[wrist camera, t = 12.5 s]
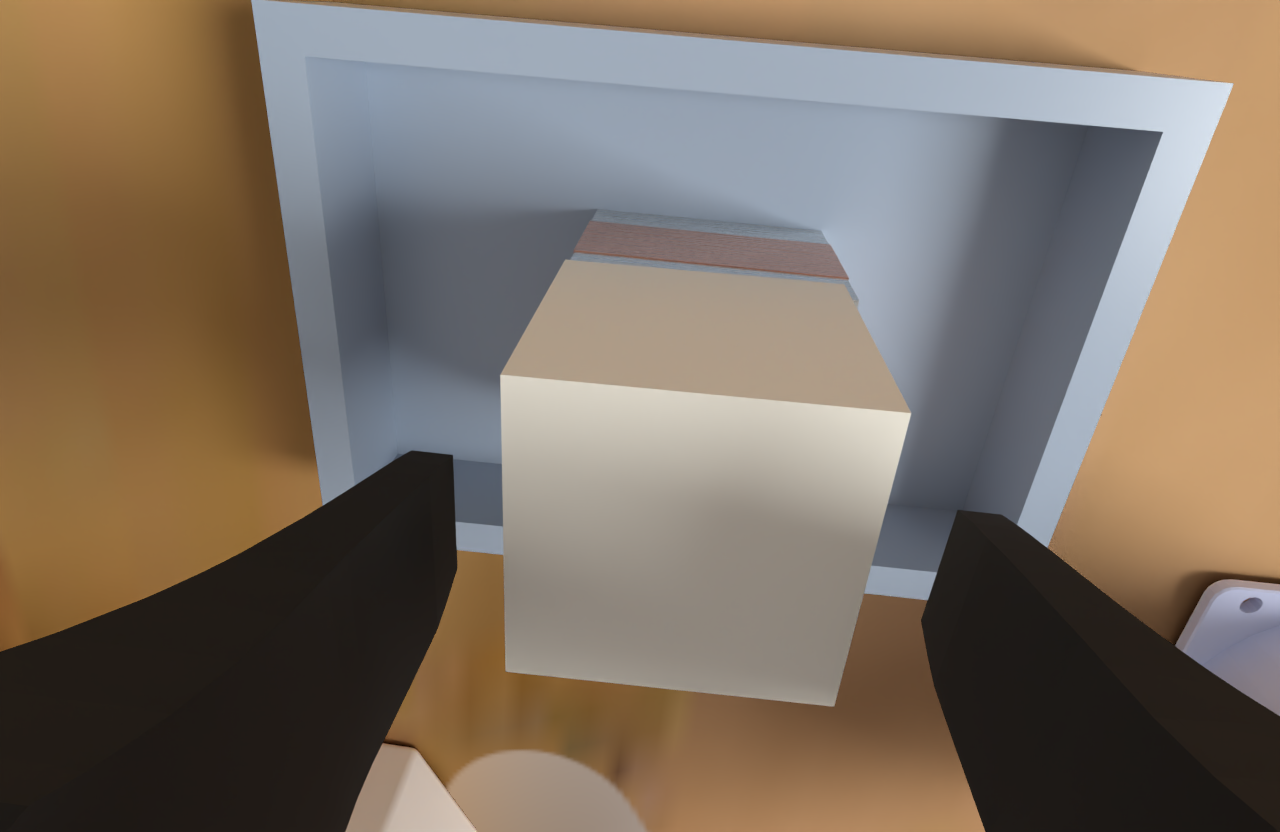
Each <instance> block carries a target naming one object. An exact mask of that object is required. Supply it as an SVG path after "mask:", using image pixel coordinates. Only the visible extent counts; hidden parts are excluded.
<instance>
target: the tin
mask: <svg viewBox="0 0 1280 832" xmlns="http://www.w3.org/2000/svg"><path fill="white" fill-rule="evenodd" d="M570 260H577V261H588V262H599V263H610V264H622V265H633V266H644V267H656V268H667V269H678V270H689V271H701V272H712V273H723V274H735V275H746V276H757V277H769V278H780V279H791V280H802V281H814V282H825V283H836V284H844V285H845V287H846V288H847V290H848V292H849V294H850V296H851V298H852V300H853V302H854V304H855V306H856V308H858V304H859V299H858V297H857V295H856V294H855V292H854V290H853V288H852V286H851V284H850V283H849V281H848V280H849V277H848V275H847V274H846V272H845V270H844V268H843V266H842V264H841V263H840V261H839V259H838V257H837V255H836V254H835V252H834V250H833V248H832V246H831V244H828V242H827V240H826V238H825V237H824V235H823V233H822V231H816V230H806V229H796V228H786V227H776V226H766V225H755V224H745V223H735V222H725V221H715V220H705V219H695V218H684V217H674V216H664V215H654V214H644V213H634V212H624V211H613V210H603V209H597V211H596V213H595V215H594V217H593V219H592V221H589V223H588V225H587V227H586V229H585V230H584V232H583V234H582V236H581V238H580V240H579V241H578V243H577V245H576V247H575V249H574V252H573V256H572V257H571V259H570Z"/></svg>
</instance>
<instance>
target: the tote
mask: <svg viewBox="0 0 1280 832" xmlns="http://www.w3.org/2000/svg"><path fill="white" fill-rule="evenodd" d="M251 2H252V9H253V16H254V23H255V30H256V37H257V44H258V51H259V58H260V65H261V72H262V79H263V86H264V94H265V101H266V108H267V115H268V122H269V129H270V136H271V143H272V150H273V157H274V164H275V171H276V178H277V185H278V192H279V199H280V206H281V214H282V221H283V228H284V235H285V242H286V249H287V256H288V263H289V270H290V277H291V284H292V291H293V298H294V305H295V312H296V319H297V326H298V334H299V341H300V348H301V355H302V362H303V369H304V376H305V383H306V390H307V397H308V404H309V411H310V418H311V425H312V432H313V439H314V446H315V454H316V461H317V468H318V475H319V482H320V489H321V496H322V503H323V505H325V504H326V503H328V502H329V501H331V500H333V499H334V498H336V497H337V496H339V495H341V494H342V493H344V492H345V491H347V490H349V489H350V488H352V487H353V486H355V485H356V484H358V483H359V482H361V481H363V480H364V479H366V478H367V477H369V476H370V475H372V474H373V473H375V472H377V471H378V470H380V469H381V468H383V467H384V466H386V465H387V464H389V463H391V462H392V461H394V460H395V459H397V458H399V457H400V456H402V455H404V454H406V453H408V452H409V451H411V450H413V451H422V452H432V453H441V454H450V455H453V468H454V494H455V520H456V546H457V550H463V551H472V552H481V553H491V554H500V555H504V554H503V498H502V441H501V385H500V374H501V373H502V371H503V369H504V367H505V365H506V364H507V362H508V360H509V358H510V357H511V355H512V353H513V351H514V349H515V348H516V346H517V344H518V342H519V341H520V339H521V337H522V335H523V334H524V332H525V330H526V328H527V326H528V325H529V323H530V321H531V319H532V318H533V316H534V314H535V312H536V310H537V309H538V307H539V305H540V303H541V302H542V300H543V298H544V296H545V294H546V293H547V291H548V289H549V287H550V286H551V284H552V282H553V280H554V278H555V277H556V275H557V273H558V271H559V270H560V268H561V266H562V264H563V262H564V261H565V260H570V259H571V257H572V256H573V252H574V249H575V247H576V245H577V243H578V241H579V240H580V238H581V236H582V234H583V232H584V230H585V229H586V227H587V225H588V223H589V221H592V219H593V217H594V215H595V213H596V211H597V209H603V210H613V211H624V212H634V213H644V214H654V215H664V216H674V217H684V218H695V219H705V220H715V221H725V222H735V223H745V224H755V225H766V226H776V227H786V228H796V229H806V230H816V231H822V233H823V235H824V237H825V238H826V240H827V242H828V244H831V246H832V248H833V250H834V252H835V254H836V255H837V257H838V259H839V261H840V263H841V264H842V266H843V268H844V270H845V272H846V274H847V275H848V277H849V280H848V281H849V283H850V284H851V286H852V288H853V290H854V292H855V294H856V295H857V297H858V299H859V304H858V308H857V310H858V312H859V313H860V315H861V317H862V319H863V321H864V323H865V325H866V327H867V329H868V331H869V333H870V335H871V337H872V338H873V340H874V342H875V344H876V346H877V348H878V350H879V352H880V354H881V356H882V358H883V360H884V361H885V363H886V365H887V367H888V369H889V371H890V373H891V375H892V377H893V379H894V381H895V383H896V385H897V386H898V388H899V390H900V392H901V394H902V396H903V398H904V400H905V402H906V404H907V406H908V408H909V410H910V411H911V417H910V420H909V424H908V428H907V432H906V436H905V439H904V443H903V447H902V451H901V455H900V458H899V462H898V466H897V470H896V474H895V477H894V481H893V485H892V489H891V493H890V496H889V500H888V504H887V508H886V512H885V515H884V519H883V523H882V527H881V531H880V534H879V538H878V542H877V546H876V550H875V553H874V557H873V561H872V565H871V569H870V572H869V576H868V580H867V584H866V588H865V591H864V593H865V594H875V595H884V596H893V597H903V598H912V599H922V600H928V598H929V595H930V592H931V589H932V586H933V583H934V580H935V577H936V574H937V571H938V568H939V565H940V562H941V559H942V556H943V553H944V550H945V547H946V544H947V541H948V538H949V535H950V532H951V529H952V526H953V523H954V520H955V516H956V513H957V510H965V511H974V512H983V513H992V514H1001V515H1003V516H1005V517H1006V518H1008V519H1009V520H1011V521H1012V522H1014V523H1015V524H1016V525H1018V526H1019V527H1021V528H1022V529H1023V530H1025V531H1026V532H1027V533H1029V534H1030V535H1031V536H1033V537H1034V538H1035V539H1036V540H1038V541H1039V542H1040V543H1042V544H1043V545H1044V546H1045V547H1047V548H1048V545H1049V543H1050V540H1051V538H1052V535H1053V533H1054V530H1055V528H1056V525H1057V523H1058V520H1059V518H1060V515H1061V513H1062V510H1063V508H1064V505H1065V503H1066V500H1067V498H1068V495H1069V493H1070V490H1071V488H1072V485H1073V483H1074V480H1075V478H1076V475H1077V473H1078V470H1079V468H1080V465H1081V463H1082V460H1083V458H1084V455H1085V453H1086V450H1087V448H1088V445H1089V443H1090V440H1091V438H1092V435H1093V433H1094V430H1095V428H1096V426H1097V423H1098V421H1099V418H1100V416H1101V413H1102V411H1103V408H1104V406H1105V403H1106V401H1107V398H1108V396H1109V393H1110V391H1111V388H1112V386H1113V383H1114V381H1115V378H1116V376H1117V373H1118V371H1119V368H1120V366H1121V363H1122V361H1123V358H1124V356H1125V353H1126V351H1127V348H1128V346H1129V343H1130V341H1131V338H1132V336H1133V333H1134V331H1135V328H1136V326H1137V323H1138V321H1139V318H1140V316H1141V313H1142V311H1143V308H1144V306H1145V303H1146V301H1147V298H1148V296H1149V293H1150V291H1151V288H1152V286H1153V283H1154V281H1155V278H1156V276H1157V273H1158V271H1159V268H1160V266H1161V264H1162V261H1163V259H1164V256H1165V254H1166V251H1167V249H1168V246H1169V244H1170V241H1171V239H1172V236H1173V234H1174V231H1175V229H1176V226H1177V224H1178V221H1179V219H1180V216H1181V214H1182V211H1183V209H1184V206H1185V204H1186V201H1187V199H1188V196H1189V194H1190V191H1191V189H1192V186H1193V184H1194V181H1195V179H1196V176H1197V174H1198V171H1199V169H1200V166H1201V164H1202V161H1203V159H1204V156H1205V154H1206V151H1207V149H1208V146H1209V144H1210V141H1211V139H1212V136H1213V134H1214V131H1215V129H1216V126H1217V124H1218V121H1219V119H1220V116H1221V114H1222V111H1223V109H1224V106H1225V104H1226V102H1227V99H1228V97H1229V94H1230V92H1231V89H1232V87H1233V83H1226V82H1218V81H1211V80H1203V79H1195V78H1188V77H1180V76H1173V75H1165V74H1157V73H1150V72H1142V71H1132V70H1120V69H1109V68H1097V67H1085V66H1074V65H1062V64H1050V63H1039V62H1027V61H1015V60H1004V59H992V58H980V57H969V56H957V55H945V54H934V53H922V52H910V51H899V50H887V49H875V48H864V47H852V46H840V45H829V44H817V43H805V42H794V41H782V40H770V39H759V38H747V37H735V36H724V35H712V34H700V33H689V32H677V31H665V30H654V29H642V28H630V27H619V26H607V25H595V24H584V23H572V22H560V21H549V20H537V19H525V18H514V17H502V16H490V15H479V14H467V13H455V12H444V11H432V10H420V9H409V8H397V7H385V6H374V5H362V4H350V3H339V2H324V1H293V0H251Z"/></svg>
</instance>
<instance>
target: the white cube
mask: <svg viewBox="0 0 1280 832" xmlns="http://www.w3.org/2000/svg"><path fill="white" fill-rule="evenodd" d="M500 385H501V441H502V498H503V554H504V610H505V666H506V672H513V673H523V674H532V675H541V676H551V677H560V678H569V679H579V680H588V681H598V682H607V683H616V684H626V685H635V686H645V687H654V688H663V689H673V690H682V691H691V692H701V693H710V694H720V695H729V696H738V697H748V698H757V699H767V700H776V701H785V702H795V703H804V704H814V705H823V706H832V707H834V705H835V702H836V698H837V694H838V690H839V686H840V683H841V679H842V675H843V671H844V667H845V664H846V660H847V656H848V652H849V648H850V645H851V641H852V637H853V633H854V629H855V626H856V622H857V618H858V614H859V610H860V607H861V603H862V599H863V595H864V591H865V588H866V584H867V580H868V576H869V572H870V569H871V565H872V561H873V557H874V553H875V550H876V546H877V542H878V538H879V534H880V531H881V527H882V523H883V519H884V515H885V512H886V508H887V504H888V500H889V496H890V493H891V489H892V485H893V481H894V477H895V474H896V470H897V466H898V462H899V458H900V455H901V451H902V447H903V443H904V439H905V436H906V432H907V428H908V424H909V420H910V417H911V411H910V410H909V408H908V406H907V404H906V402H905V400H904V398H903V396H902V394H901V392H900V390H899V388H898V386H897V385H896V383H895V381H894V379H893V377H892V375H891V373H890V371H889V369H888V367H887V365H886V363H885V361H884V360H883V358H882V356H881V354H880V352H879V350H878V348H877V346H876V344H875V342H874V340H873V338H872V337H871V335H870V333H869V331H868V329H867V327H866V325H865V323H864V321H863V319H862V317H861V315H860V313H859V312H858V310H857V308H856V306H855V304H854V302H853V300H852V298H851V296H850V294H849V292H848V290H847V288H846V287H845V285H844V284H836V283H825V282H814V281H802V280H791V279H780V278H769V277H757V276H746V275H735V274H723V273H712V272H701V271H689V270H678V269H667V268H656V267H644V266H633V265H622V264H610V263H599V262H588V261H577V260H565V261H564V262H563V264H562V266H561V268H560V270H559V271H558V273H557V275H556V277H555V278H554V280H553V282H552V284H551V286H550V287H549V289H548V291H547V293H546V294H545V296H544V298H543V300H542V302H541V303H540V305H539V307H538V309H537V310H536V312H535V314H534V316H533V318H532V319H531V321H530V323H529V325H528V326H527V328H526V330H525V332H524V334H523V335H522V337H521V339H520V341H519V342H518V344H517V346H516V348H515V349H514V351H513V353H512V355H511V357H510V358H509V360H508V362H507V364H506V365H505V367H504V369H503V371H502V373H501V374H500Z"/></svg>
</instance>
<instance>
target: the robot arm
mask: <svg viewBox="0 0 1280 832" xmlns="http://www.w3.org/2000/svg"><path fill="white" fill-rule="evenodd" d="M456 571H457V546H456V520H455V494H454V468H453V455H450V454H441V453H432V452H422V451H413V450H411V451H409V452H408V453H406V454H404V455H402V456H400V457H399V458H397V459H395V460H394V461H392V462H391V463H389V464H387V465H386V466H384V467H383V468H381V469H380V470H378V471H377V472H375V473H373V474H372V475H370V476H369V477H367V478H366V479H364V480H363V481H361V482H359V483H358V484H356V485H355V486H353V487H352V488H350V489H349V490H347V491H345V492H344V493H342V494H341V495H339V496H337V497H336V498H334V499H333V500H331V501H329V502H328V503H326V504H325V505H323V506H321V507H320V508H318V509H317V510H315V511H313V512H312V513H310V514H309V515H307V516H305V517H304V518H302V519H300V520H298V521H297V522H295V523H293V524H291V525H290V526H288V527H286V528H284V529H282V530H281V531H279V532H277V533H275V534H274V535H272V536H270V537H268V538H267V539H265V540H263V541H261V542H259V543H258V544H256V545H254V546H252V547H251V548H249V549H247V550H245V551H244V552H242V553H240V554H238V555H236V556H234V557H232V558H230V559H228V560H226V561H224V562H222V563H220V564H218V565H216V566H214V567H212V568H210V569H208V570H206V571H204V572H202V573H200V574H198V575H196V576H194V577H191V578H189V579H187V580H185V581H183V582H180V583H178V584H176V585H174V586H172V587H170V588H167V589H165V590H163V591H161V592H159V593H156V594H154V595H152V596H149V597H147V598H145V599H142V600H140V601H137V602H135V603H132V604H129V605H127V606H124V607H122V608H119V609H117V610H114V611H111V612H109V613H106V614H104V615H101V616H99V617H96V618H93V619H91V620H88V621H86V622H83V623H81V624H78V625H76V626H73V627H70V628H68V629H65V630H63V631H60V632H57V633H55V634H52V635H49V636H46V637H43V638H40V639H37V640H34V641H31V642H28V643H25V644H22V645H19V646H16V647H13V648H10V649H8V650H5V651H2V652H0V832H345V831H346V829H347V826H348V823H349V821H350V818H351V815H352V812H353V810H354V807H355V804H356V801H357V799H358V796H359V794H360V792H361V789H362V787H363V785H364V782H365V780H366V778H367V775H368V773H369V771H370V769H371V766H372V764H373V762H374V760H375V758H376V756H377V754H378V752H379V750H380V747H381V745H382V743H383V741H384V739H385V737H386V735H387V733H388V731H389V729H390V727H391V725H392V723H393V721H394V719H395V717H396V714H397V712H398V710H399V708H400V706H401V704H402V702H403V700H404V698H405V696H406V694H407V692H408V690H409V688H410V686H411V684H412V681H413V679H414V677H415V675H416V673H417V671H418V669H419V667H420V665H421V663H422V661H423V658H424V656H425V654H426V652H427V650H428V648H429V646H430V644H431V642H432V639H433V637H434V635H435V633H436V631H437V629H438V626H439V623H440V620H441V617H442V614H443V611H444V608H445V605H446V602H447V599H448V596H449V593H450V590H451V587H452V583H453V580H454V577H455V574H456ZM1248 598H1250V599H1249V600H1247V601H1245V602H1243V601H1244V600H1246V599H1248ZM921 622H922V628H923V633H924V639H925V644H926V649H927V655H928V660H929V664H930V669H931V673H932V678H933V682H934V686H935V689H936V692H937V696H938V699H939V702H940V704H941V707H942V710H943V713H944V716H945V719H946V722H947V725H948V728H949V730H950V733H951V736H952V739H953V742H954V745H955V748H956V750H957V753H958V756H959V759H960V762H961V764H962V767H963V770H964V773H965V776H966V778H967V781H968V784H969V787H970V790H971V792H972V795H973V798H974V801H975V804H976V806H977V809H978V812H979V815H980V818H981V821H982V823H983V826H984V829H985V832H1280V584H1272V583H1263V582H1253V581H1243V580H1234V579H1226V580H1220V581H1217V582H1214V583H1213V584H1211V585H1210V586H1208V588H1207V589H1206V590H1205V591H1204V593H1203V595H1202V596H1201V598H1200V600H1199V602H1198V604H1197V606H1196V608H1195V610H1194V611H1193V613H1192V615H1191V617H1190V619H1189V621H1188V623H1187V624H1186V626H1185V628H1184V630H1183V632H1182V634H1181V636H1180V637H1179V639H1178V641H1177V643H1176V645H1175V646H1174V645H1173V644H1171V643H1170V642H1168V641H1167V640H1166V639H1164V638H1163V637H1161V636H1160V635H1159V634H1157V633H1156V632H1155V631H1153V630H1152V629H1151V628H1149V627H1148V626H1147V625H1145V624H1144V623H1143V622H1141V621H1140V620H1138V619H1137V618H1136V617H1134V616H1133V615H1132V614H1131V613H1129V612H1128V611H1127V610H1125V609H1124V608H1123V607H1121V606H1120V605H1119V604H1118V603H1116V602H1115V601H1114V600H1112V599H1111V598H1110V597H1109V596H1107V595H1106V594H1105V593H1103V592H1102V591H1101V590H1100V589H1098V588H1097V587H1096V586H1095V585H1093V584H1092V583H1091V582H1089V581H1088V580H1087V579H1086V578H1084V577H1083V576H1082V575H1081V574H1079V573H1078V572H1077V571H1076V570H1074V569H1073V568H1072V567H1071V566H1069V565H1068V564H1067V563H1066V562H1064V561H1063V560H1062V559H1061V558H1059V557H1058V556H1057V555H1056V554H1054V553H1053V552H1052V551H1050V550H1049V549H1048V548H1047V547H1045V546H1044V545H1043V544H1042V543H1040V542H1039V541H1038V540H1036V539H1035V538H1034V537H1033V536H1031V535H1030V534H1029V533H1027V532H1026V531H1025V530H1023V529H1022V528H1021V527H1019V526H1018V525H1016V524H1015V523H1014V522H1012V521H1011V520H1009V519H1008V518H1006V517H1005V516H1003V515H1001V514H992V513H983V512H974V511H965V510H957V513H956V516H955V520H954V523H953V526H952V529H951V532H950V535H949V538H948V541H947V544H946V547H945V550H944V553H943V556H942V559H941V562H940V565H939V568H938V571H937V574H936V577H935V580H934V583H933V586H932V589H931V592H930V595H929V598H928V601H927V604H926V607H925V610H924V613H923V616H922V619H921Z"/></svg>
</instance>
